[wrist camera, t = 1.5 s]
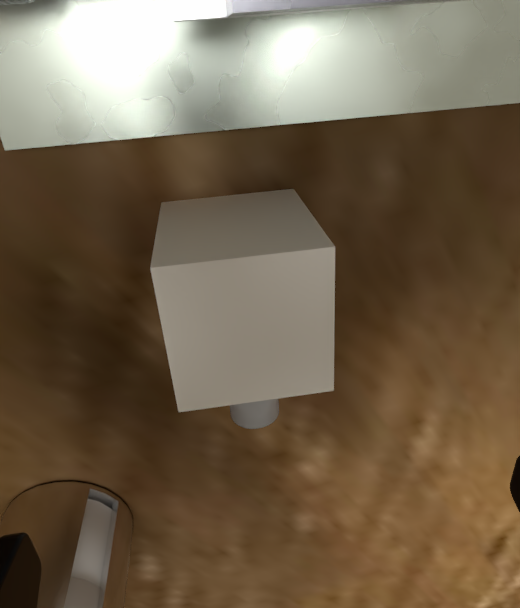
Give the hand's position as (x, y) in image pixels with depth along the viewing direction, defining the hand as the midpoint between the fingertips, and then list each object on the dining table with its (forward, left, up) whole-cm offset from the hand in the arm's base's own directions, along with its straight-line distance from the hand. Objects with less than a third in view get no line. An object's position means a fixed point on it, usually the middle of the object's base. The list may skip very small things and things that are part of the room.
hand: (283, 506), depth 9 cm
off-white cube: (0, 0, -12) cm, 12 cm away
